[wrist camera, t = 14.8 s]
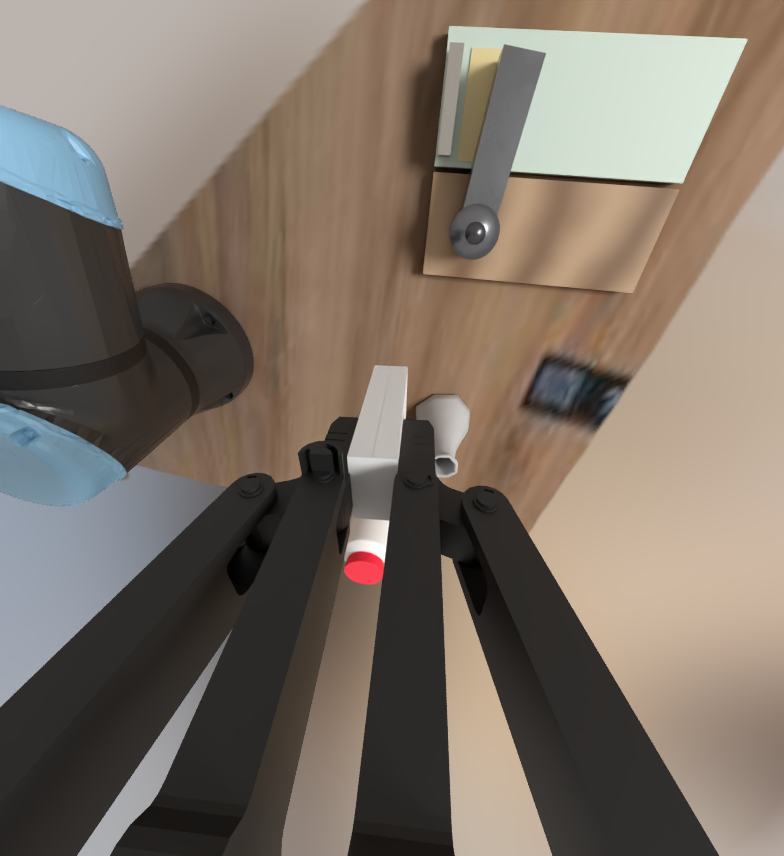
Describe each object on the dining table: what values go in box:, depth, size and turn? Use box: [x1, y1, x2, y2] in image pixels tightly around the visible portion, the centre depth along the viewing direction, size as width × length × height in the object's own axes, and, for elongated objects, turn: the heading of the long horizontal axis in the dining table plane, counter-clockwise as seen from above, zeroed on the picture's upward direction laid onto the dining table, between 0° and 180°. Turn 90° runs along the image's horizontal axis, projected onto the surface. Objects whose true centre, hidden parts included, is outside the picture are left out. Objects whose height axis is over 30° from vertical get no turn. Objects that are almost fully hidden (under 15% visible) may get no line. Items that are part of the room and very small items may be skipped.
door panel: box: [434, 26, 748, 184], centre depth 25 cm, size 20×8×3 cm, turn 86°
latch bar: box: [449, 44, 546, 260], centre depth 26 cm, size 12×4×4 cm, turn 170°
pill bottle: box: [344, 514, 389, 584], centre depth 50 cm, size 8×8×11 cm
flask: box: [416, 395, 470, 478], centre depth 39 cm, size 7×7×10 cm
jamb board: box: [423, 172, 680, 293], centre depth 30 cm, size 20×8×1 cm, turn 86°
